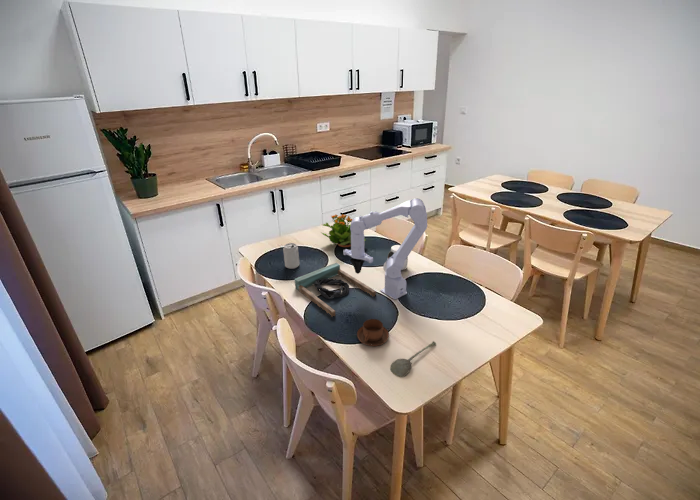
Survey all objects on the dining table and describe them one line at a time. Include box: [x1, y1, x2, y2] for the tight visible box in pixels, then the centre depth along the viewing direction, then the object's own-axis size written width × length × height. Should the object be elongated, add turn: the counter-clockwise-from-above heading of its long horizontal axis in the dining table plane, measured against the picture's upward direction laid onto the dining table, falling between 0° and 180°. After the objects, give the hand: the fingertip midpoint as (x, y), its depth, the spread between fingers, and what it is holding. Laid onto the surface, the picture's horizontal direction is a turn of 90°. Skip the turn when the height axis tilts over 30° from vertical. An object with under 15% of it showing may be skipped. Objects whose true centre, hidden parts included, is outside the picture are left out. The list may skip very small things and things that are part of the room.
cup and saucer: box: [356, 318, 390, 347], centre depth 134 cm, size 12×12×6 cm
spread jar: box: [383, 244, 409, 273], centre depth 178 cm, size 12×11×12 cm
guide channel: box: [294, 262, 377, 318], centre depth 163 cm, size 29×24×5 cm
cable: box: [313, 278, 350, 300], centre depth 165 cm, size 17×14×4 cm
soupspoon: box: [389, 340, 437, 378], centre depth 124 cm, size 22×3×7 cm
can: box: [282, 242, 300, 270], centre depth 184 cm, size 8×8×12 cm
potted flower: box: [321, 214, 366, 248], centre depth 204 cm, size 25×24×18 cm
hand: (358, 272), depth 160 cm, fingers closed
